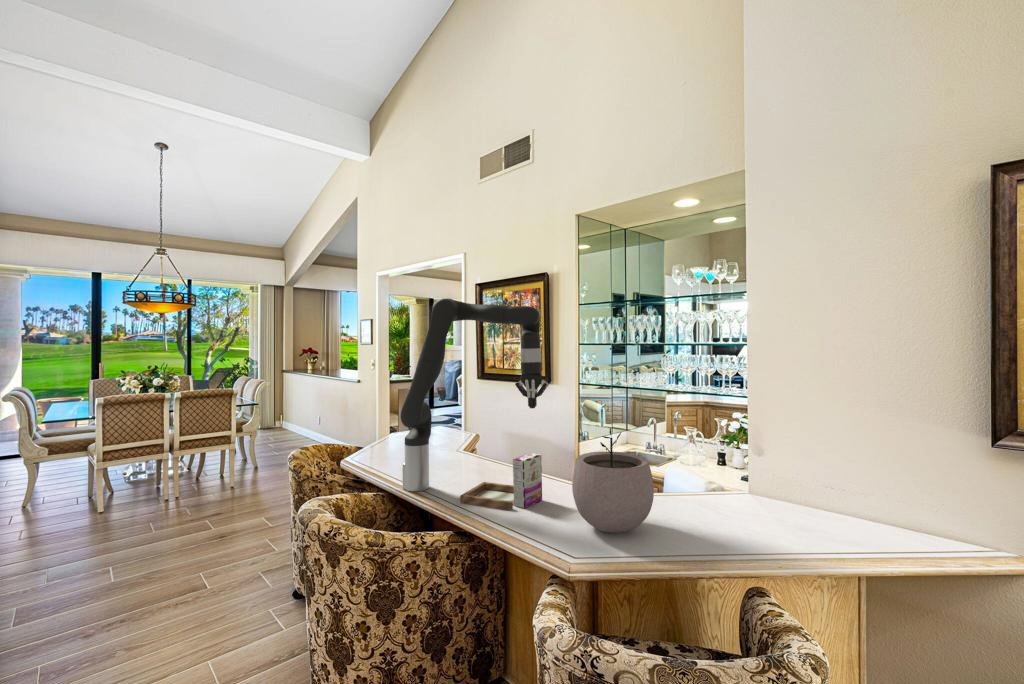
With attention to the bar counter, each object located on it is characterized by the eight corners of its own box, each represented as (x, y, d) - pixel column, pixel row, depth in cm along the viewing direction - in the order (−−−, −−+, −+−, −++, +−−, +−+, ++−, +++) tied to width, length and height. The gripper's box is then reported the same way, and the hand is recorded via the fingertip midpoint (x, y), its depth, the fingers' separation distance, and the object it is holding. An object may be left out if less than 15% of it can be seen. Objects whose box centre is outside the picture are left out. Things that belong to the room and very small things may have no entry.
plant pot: (558, 520, 148) (558, 424, 148) (623, 510, 157) (623, 420, 157) (598, 551, 126) (598, 438, 126) (672, 537, 134) (671, 432, 134)
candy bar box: (531, 497, 170) (530, 452, 170) (542, 500, 167) (542, 454, 167) (512, 506, 161) (512, 458, 162) (524, 509, 158) (524, 460, 158)
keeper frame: (460, 502, 165) (460, 495, 165) (483, 488, 182) (483, 481, 182) (510, 510, 157) (510, 502, 157) (530, 494, 174) (530, 487, 174)
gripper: (510, 361, 172) (511, 409, 172) (544, 361, 167) (546, 409, 167) (518, 360, 179) (519, 406, 179) (551, 360, 174) (552, 407, 174)
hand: (532, 408), depth 173 cm, fingers closed
